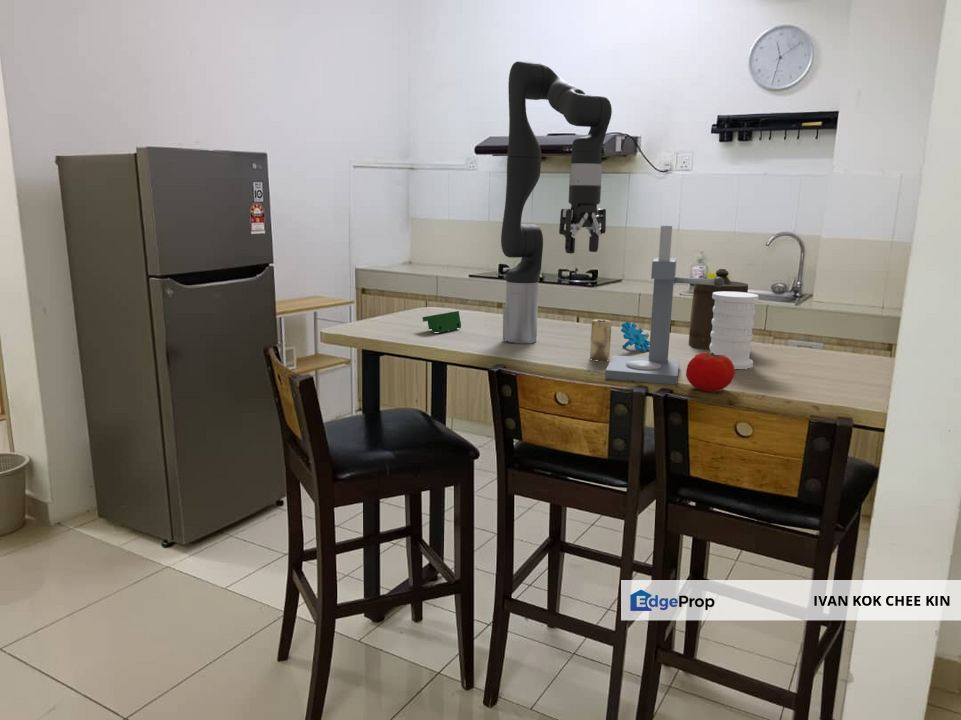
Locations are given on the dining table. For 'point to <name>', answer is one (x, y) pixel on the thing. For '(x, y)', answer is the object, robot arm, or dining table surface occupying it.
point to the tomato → (710, 372)
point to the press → (657, 323)
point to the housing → (600, 340)
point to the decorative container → (733, 326)
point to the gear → (635, 337)
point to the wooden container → (708, 308)
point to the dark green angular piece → (443, 321)
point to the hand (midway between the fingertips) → (581, 252)
